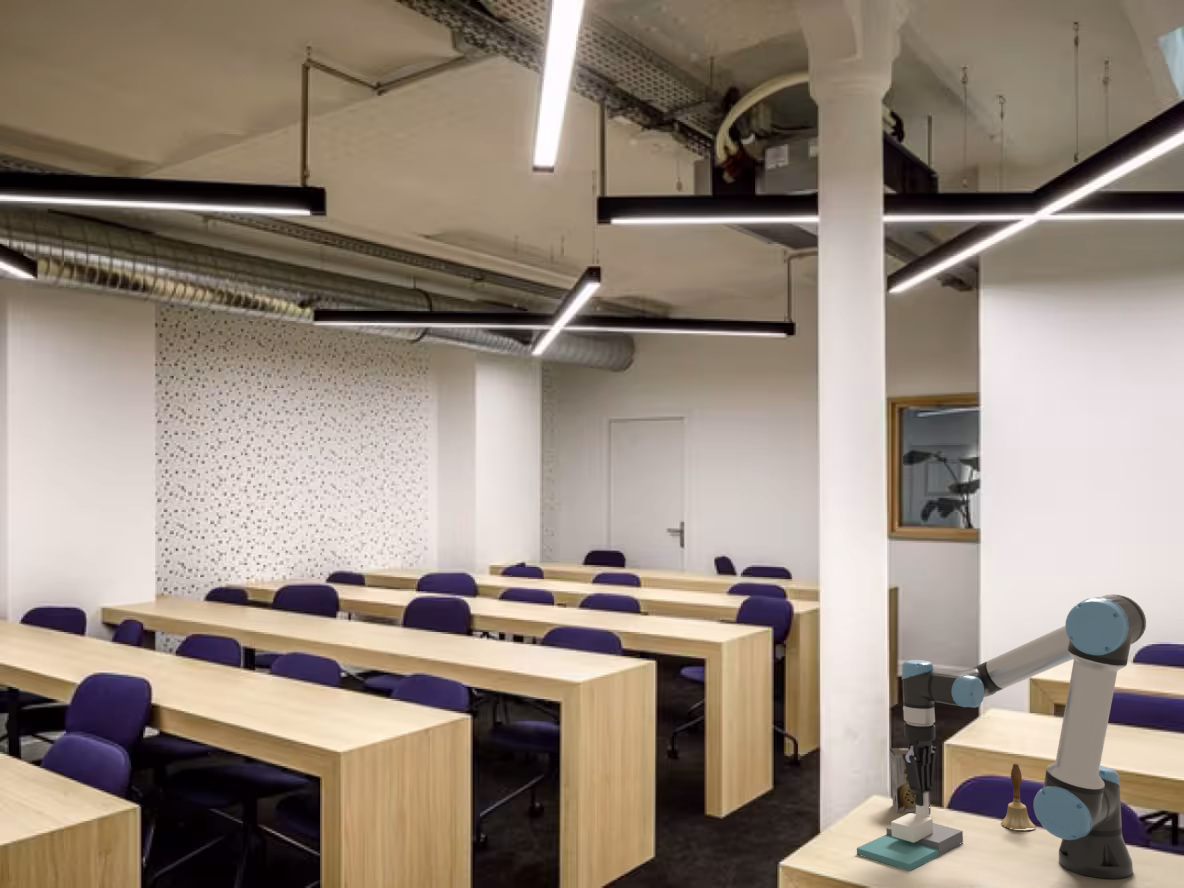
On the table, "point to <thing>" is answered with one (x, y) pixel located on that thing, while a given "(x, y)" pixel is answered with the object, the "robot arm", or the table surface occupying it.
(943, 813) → the table surface
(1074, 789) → the robot arm
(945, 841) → the plate
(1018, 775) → the hand bell
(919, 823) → the white rectangular block
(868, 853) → the mat
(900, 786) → the coffee box
